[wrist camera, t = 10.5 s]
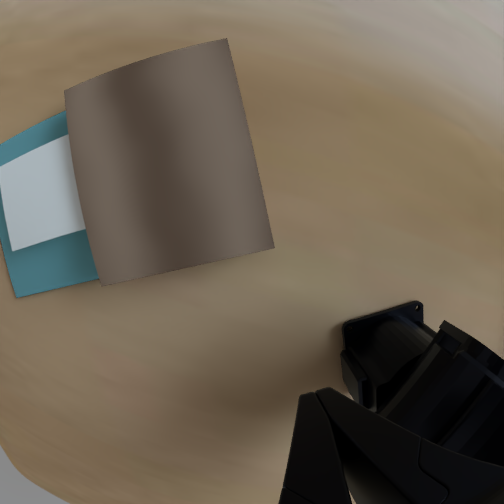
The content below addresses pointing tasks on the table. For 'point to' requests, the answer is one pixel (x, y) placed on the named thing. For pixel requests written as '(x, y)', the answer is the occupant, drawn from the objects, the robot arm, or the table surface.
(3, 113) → the table surface
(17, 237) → the tile
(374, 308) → the table surface
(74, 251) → the mat
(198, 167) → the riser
